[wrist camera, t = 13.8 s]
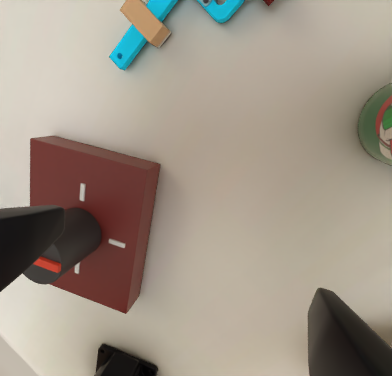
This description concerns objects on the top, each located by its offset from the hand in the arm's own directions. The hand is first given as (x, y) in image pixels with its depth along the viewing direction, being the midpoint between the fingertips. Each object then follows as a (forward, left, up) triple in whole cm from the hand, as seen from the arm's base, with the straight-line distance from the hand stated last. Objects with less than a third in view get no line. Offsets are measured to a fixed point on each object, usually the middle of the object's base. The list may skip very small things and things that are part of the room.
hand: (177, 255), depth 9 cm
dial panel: (-7, +11, -12) cm, 18 cm away
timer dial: (-7, +10, -10) cm, 16 cm away
